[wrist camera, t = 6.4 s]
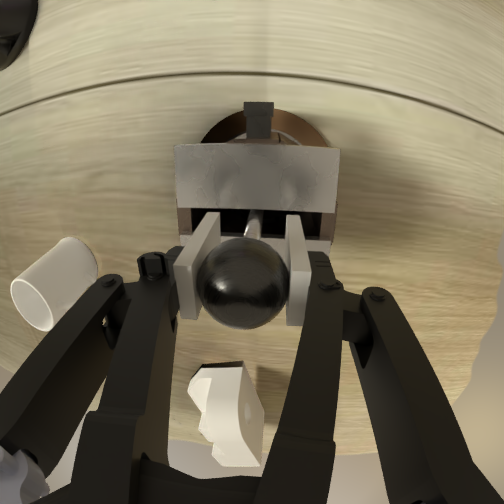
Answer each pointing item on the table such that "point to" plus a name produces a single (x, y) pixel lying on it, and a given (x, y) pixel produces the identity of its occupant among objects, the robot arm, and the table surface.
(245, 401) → the tape dispenser
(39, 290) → the mug
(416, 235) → the table surface
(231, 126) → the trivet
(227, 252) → the plunger
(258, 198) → the wooden tankard
